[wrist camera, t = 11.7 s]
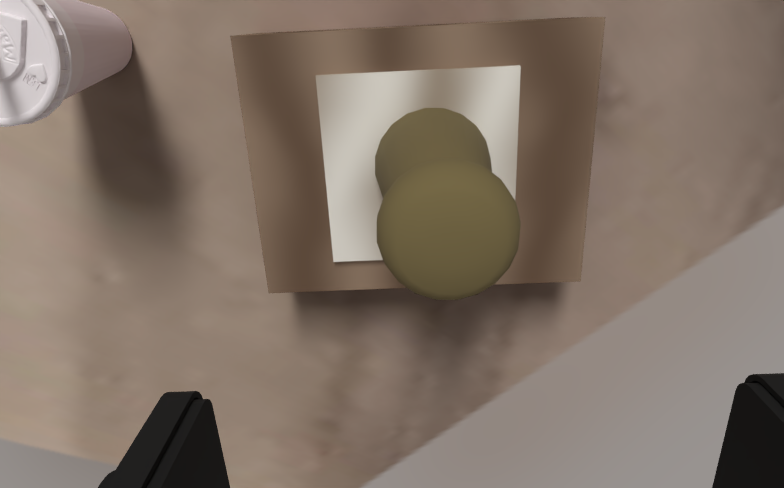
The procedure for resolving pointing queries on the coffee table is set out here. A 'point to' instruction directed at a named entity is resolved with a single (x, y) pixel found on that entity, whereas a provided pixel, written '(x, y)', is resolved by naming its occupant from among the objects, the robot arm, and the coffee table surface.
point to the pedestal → (390, 103)
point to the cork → (443, 207)
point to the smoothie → (55, 54)
